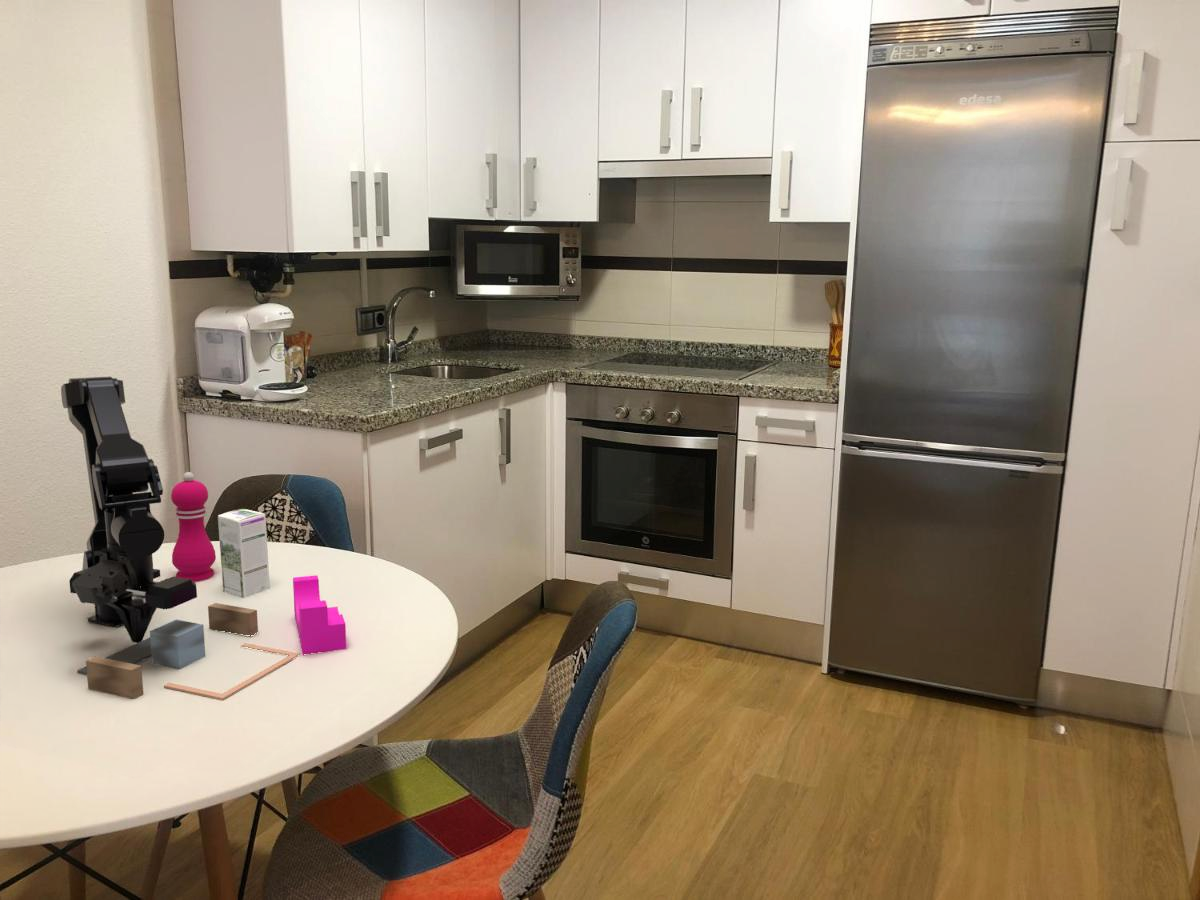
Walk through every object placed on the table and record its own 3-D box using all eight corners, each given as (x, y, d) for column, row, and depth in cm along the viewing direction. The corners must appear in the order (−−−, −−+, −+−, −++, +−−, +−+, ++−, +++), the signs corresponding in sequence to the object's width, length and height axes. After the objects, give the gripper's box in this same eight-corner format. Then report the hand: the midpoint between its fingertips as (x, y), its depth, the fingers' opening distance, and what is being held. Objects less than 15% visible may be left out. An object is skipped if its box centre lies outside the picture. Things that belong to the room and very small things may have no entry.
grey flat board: (77, 673, 136) (76, 670, 136) (174, 628, 153) (174, 626, 153) (104, 678, 134) (104, 676, 134) (199, 633, 151) (199, 631, 151)
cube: (152, 664, 140) (149, 631, 139) (178, 651, 144) (176, 619, 143) (179, 669, 138) (177, 636, 137) (205, 656, 143) (203, 624, 142)
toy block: (346, 652, 145) (344, 604, 144) (302, 657, 143) (300, 609, 142) (334, 617, 159) (333, 573, 158) (294, 622, 157) (292, 577, 155)
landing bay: (163, 687, 132) (163, 685, 132) (245, 645, 147) (245, 643, 147) (223, 700, 129) (222, 698, 129) (300, 655, 143) (300, 653, 143)
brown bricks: (88, 688, 131) (85, 660, 131) (216, 627, 154) (215, 602, 153) (133, 698, 129) (131, 670, 128) (258, 634, 151) (256, 610, 150)
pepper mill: (207, 588, 171) (200, 477, 167) (166, 587, 171) (158, 476, 167) (223, 575, 178) (216, 468, 174) (184, 574, 178) (176, 467, 175)
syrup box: (271, 593, 169) (267, 512, 167) (243, 602, 165) (238, 519, 162) (250, 586, 172) (245, 507, 170) (221, 596, 168) (216, 514, 165)
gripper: (31, 546, 136) (42, 652, 139) (134, 563, 130) (143, 673, 133) (97, 527, 147) (106, 625, 150) (196, 541, 140) (203, 643, 143)
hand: (137, 641), depth 143 cm, fingers closed
